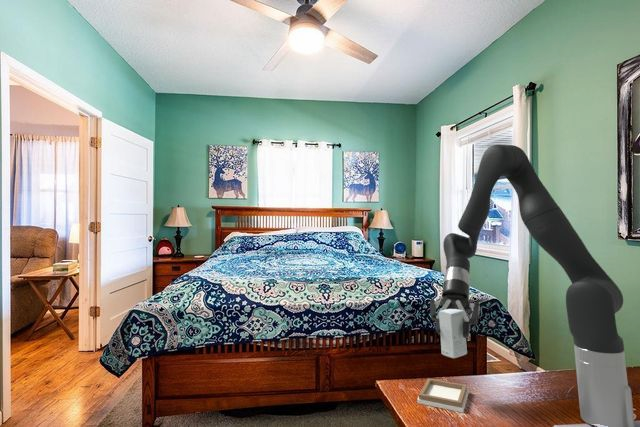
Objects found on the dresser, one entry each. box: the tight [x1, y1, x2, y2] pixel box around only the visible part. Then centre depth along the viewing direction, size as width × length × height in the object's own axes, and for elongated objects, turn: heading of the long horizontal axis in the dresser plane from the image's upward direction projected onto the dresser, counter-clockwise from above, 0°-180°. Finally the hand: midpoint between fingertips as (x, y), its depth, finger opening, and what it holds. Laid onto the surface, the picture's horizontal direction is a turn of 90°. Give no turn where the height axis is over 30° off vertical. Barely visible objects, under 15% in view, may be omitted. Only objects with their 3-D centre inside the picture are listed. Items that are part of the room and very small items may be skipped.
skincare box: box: [438, 309, 468, 359], centre depth 94 cm, size 6×4×12 cm
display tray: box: [417, 377, 470, 414], centre depth 93 cm, size 12×12×2 cm
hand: (451, 334), depth 93 cm, fingers closed on skincare box, 6 cm apart
